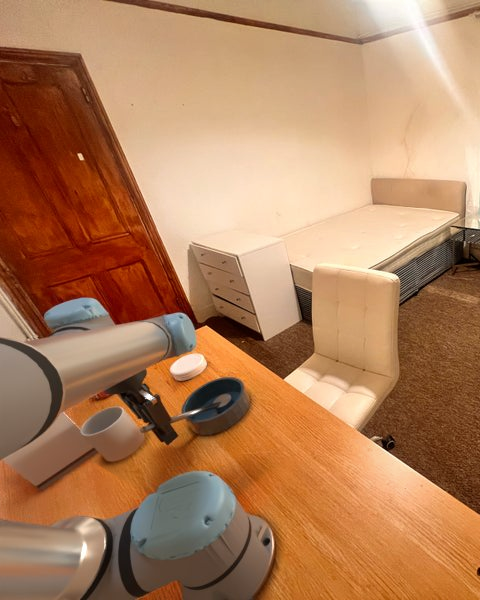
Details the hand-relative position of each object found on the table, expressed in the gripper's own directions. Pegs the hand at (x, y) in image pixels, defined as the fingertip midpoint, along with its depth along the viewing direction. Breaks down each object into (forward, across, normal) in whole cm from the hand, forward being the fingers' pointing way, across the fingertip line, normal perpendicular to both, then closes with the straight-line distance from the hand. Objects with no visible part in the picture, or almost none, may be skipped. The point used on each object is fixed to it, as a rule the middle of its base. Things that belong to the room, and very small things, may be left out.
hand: (169, 438), depth 75 cm
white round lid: (+6, +25, -22) cm, 34 cm away
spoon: (+5, 0, -7) cm, 8 cm away
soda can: (+6, +43, -6) cm, 44 cm away
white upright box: (+6, +27, +12) cm, 30 cm away
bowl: (+6, 0, -13) cm, 14 cm away
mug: (+6, +17, +4) cm, 18 cm away
